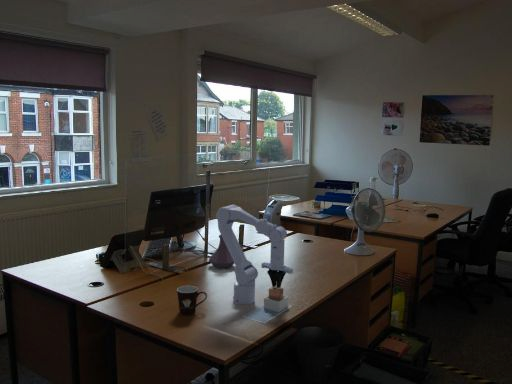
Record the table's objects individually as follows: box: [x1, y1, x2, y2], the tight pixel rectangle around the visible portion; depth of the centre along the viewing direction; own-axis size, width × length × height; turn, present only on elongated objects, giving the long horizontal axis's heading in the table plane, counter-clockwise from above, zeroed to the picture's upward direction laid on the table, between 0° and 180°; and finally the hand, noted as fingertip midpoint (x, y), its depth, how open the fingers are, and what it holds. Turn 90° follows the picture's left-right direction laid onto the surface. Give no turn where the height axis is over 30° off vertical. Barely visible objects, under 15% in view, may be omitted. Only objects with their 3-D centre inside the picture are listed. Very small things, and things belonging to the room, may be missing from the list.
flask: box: [208, 234, 235, 270], centre depth 254 cm, size 16×16×20 cm
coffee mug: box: [176, 285, 208, 316], centre depth 191 cm, size 12×9×10 cm
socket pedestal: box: [263, 294, 289, 312], centre depth 197 cm, size 8×8×4 cm
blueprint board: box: [241, 304, 293, 325], centre depth 193 cm, size 22×11×1 cm, turn 146°
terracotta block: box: [268, 285, 284, 301], centre depth 196 cm, size 4×4×5 cm
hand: (276, 286), depth 196 cm, fingers closed
